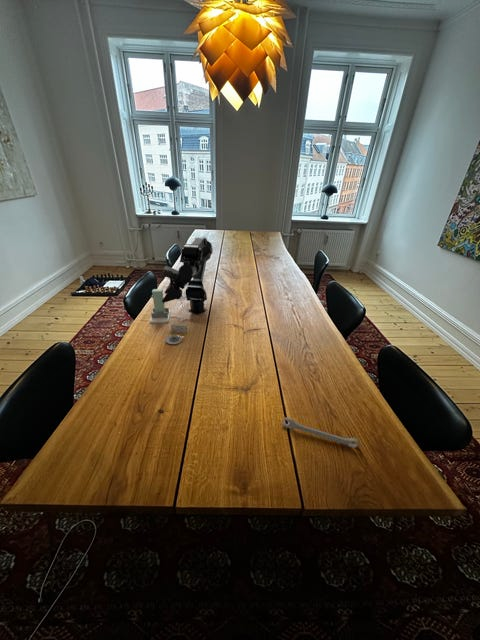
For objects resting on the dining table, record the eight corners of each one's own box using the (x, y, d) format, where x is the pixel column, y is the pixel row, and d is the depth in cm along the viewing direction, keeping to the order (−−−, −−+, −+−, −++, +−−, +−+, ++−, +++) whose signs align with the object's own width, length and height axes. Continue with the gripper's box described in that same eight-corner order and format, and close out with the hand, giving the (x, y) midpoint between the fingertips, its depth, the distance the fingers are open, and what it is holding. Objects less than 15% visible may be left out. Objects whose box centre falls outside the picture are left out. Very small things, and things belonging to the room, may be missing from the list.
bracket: (163, 345, 101) (162, 337, 99) (171, 331, 109) (171, 324, 107) (179, 346, 100) (178, 339, 98) (186, 332, 109) (186, 325, 107)
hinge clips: (170, 311, 123) (170, 305, 121) (168, 322, 115) (167, 315, 113) (153, 312, 122) (152, 305, 120) (150, 323, 113) (149, 316, 112)
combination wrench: (360, 438, 64) (282, 413, 69) (360, 442, 63) (281, 417, 68) (356, 446, 66) (280, 422, 71) (356, 451, 65) (279, 426, 70)
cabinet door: (165, 313, 119) (162, 289, 113) (164, 316, 117) (161, 291, 111) (154, 314, 118) (150, 289, 112) (153, 316, 116) (149, 291, 110)
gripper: (174, 254, 114) (152, 277, 118) (170, 267, 98) (144, 294, 102) (193, 270, 119) (171, 293, 123) (192, 286, 103) (167, 311, 107)
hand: (164, 297), depth 114 cm, fingers open, 9 cm apart
